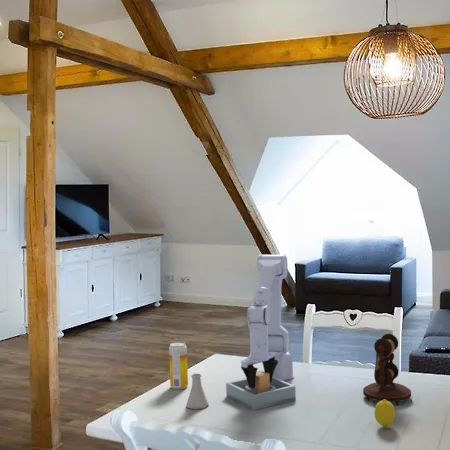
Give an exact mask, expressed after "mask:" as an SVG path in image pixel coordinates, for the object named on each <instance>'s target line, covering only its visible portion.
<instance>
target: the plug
mask: <svg viewBox="0 0 450 450" xmlns="http://www.w3.org/2000/svg"><path fill="white" fill-rule="evenodd" d="M251 389H253V390H255V391H257V392H259V391H263V390H267V389H270V377H269V373H266V372H264V371H262V370H257V372H256V378H255V388H251Z"/></svg>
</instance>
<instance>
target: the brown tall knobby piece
mask: <svg viewBox="0 0 450 450" xmlns="http://www.w3.org/2000/svg"><path fill="white" fill-rule="evenodd" d="M373 345H374V346H373V347H374V348H373V349H374V350H375V353H376V354H375V357H376V358H375V365H374V373H373V375H374V376H373V377H374V381H375V382H372V383H369V384H368V385H365V386H364V387H363V389H362V394H363V396H364V397H365V399H366V401H367V402H368V401H369V400H374V401H378V402H380V401H382V400H384V399H385V400H387V401H389V402H390V403H392V402H393V403H394V402H395V404H396V406H399V404H400V402H402V401H406V400H408V399H410V398H411V397H412V390H411V389H410V388H409V387H407V386H406V385H404V384H401V383H399V382H398V383H396V382H394V381H395V379H396V378H398V376H399V371H400V370H399V369H398V365H396V364H395V363H394V359H395V353H394V352H395V351H396V350H397V349H398V346H399V340H398V338H397V336H395V335H394V334H392V333H386V334H383V335H382V337H381V338H378V339H377V340H376V341H375V342H374V344H373Z"/></svg>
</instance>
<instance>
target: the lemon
mask: <svg viewBox="0 0 450 450" xmlns="http://www.w3.org/2000/svg"><path fill="white" fill-rule="evenodd" d="M395 417H396V411H395V406H394V405H393V403H392V402H389V401H387V400H385V399H384V400H382V401H378V402H377V403H376V404H375V408H374V418H375V421H376V422H377V424H379V425H381V426H382V427H383V428H387V427H389V426H391V425H392V424H393V423H394V421H395V419H396V418H395Z"/></svg>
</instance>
